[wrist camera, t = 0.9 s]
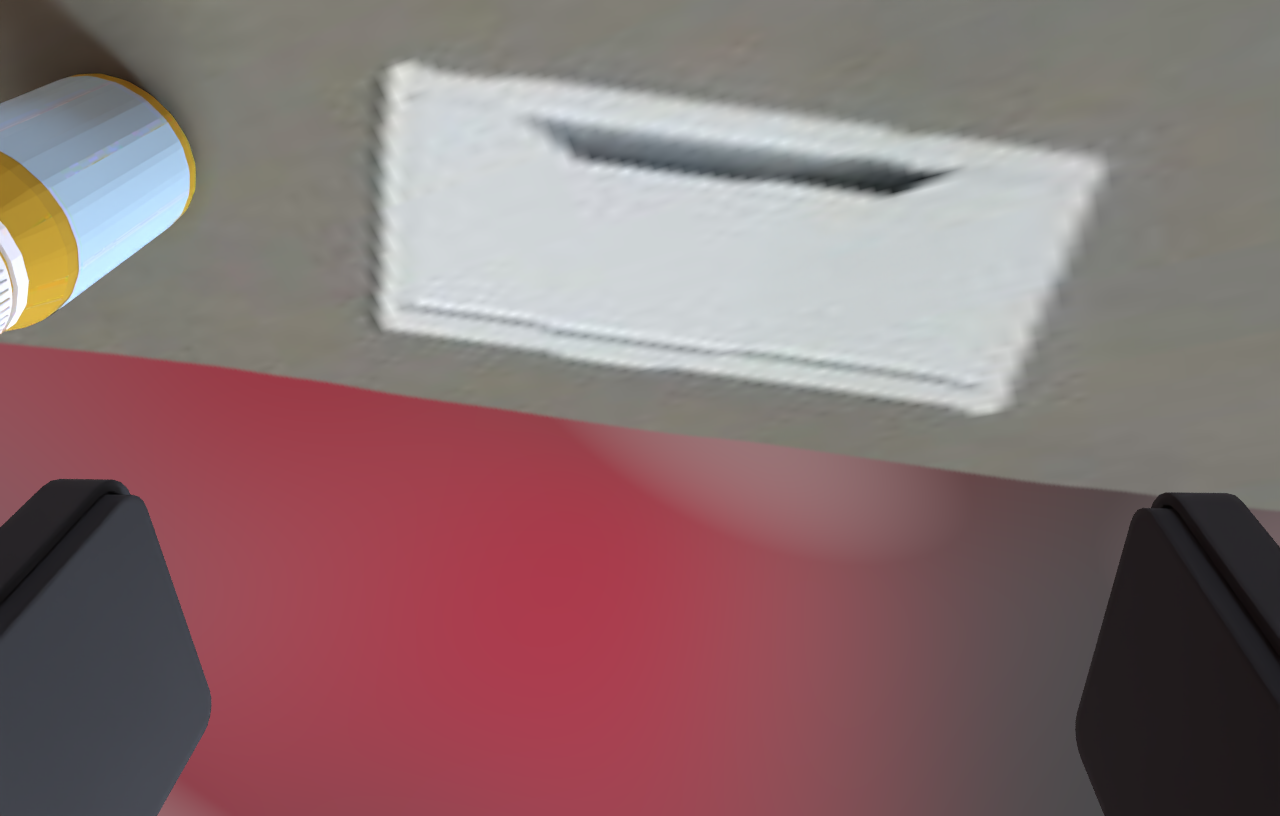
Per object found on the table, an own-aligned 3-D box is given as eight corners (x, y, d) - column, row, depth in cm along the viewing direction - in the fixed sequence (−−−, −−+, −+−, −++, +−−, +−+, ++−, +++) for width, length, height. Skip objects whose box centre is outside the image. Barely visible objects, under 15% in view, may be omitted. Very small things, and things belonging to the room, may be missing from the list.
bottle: (48, 205, 44) (-225, 363, 31) (36, 49, 40) (-278, 157, 28) (201, 244, 45) (-6, 416, 32) (203, 94, 41) (-30, 220, 28)
